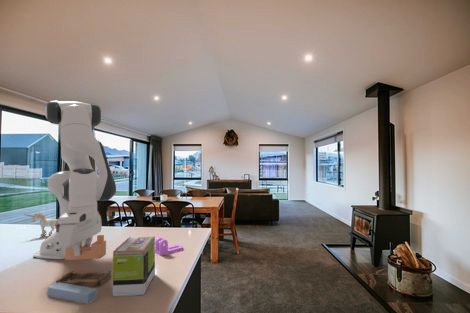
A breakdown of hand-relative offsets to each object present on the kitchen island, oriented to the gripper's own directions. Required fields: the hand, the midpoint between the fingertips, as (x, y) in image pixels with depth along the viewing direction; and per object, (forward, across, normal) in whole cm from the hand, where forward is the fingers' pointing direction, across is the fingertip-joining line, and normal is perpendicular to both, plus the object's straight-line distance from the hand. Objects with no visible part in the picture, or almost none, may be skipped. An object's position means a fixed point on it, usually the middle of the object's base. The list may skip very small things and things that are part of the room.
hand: (82, 252), depth 86 cm
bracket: (+11, -30, +24) cm, 41 cm away
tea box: (+11, +3, +20) cm, 23 cm away
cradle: (+10, 0, +1) cm, 10 cm away
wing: (+11, +10, +3) cm, 15 cm away
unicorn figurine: (+9, -56, -54) cm, 79 cm away
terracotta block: (+2, 0, +1) cm, 2 cm away
